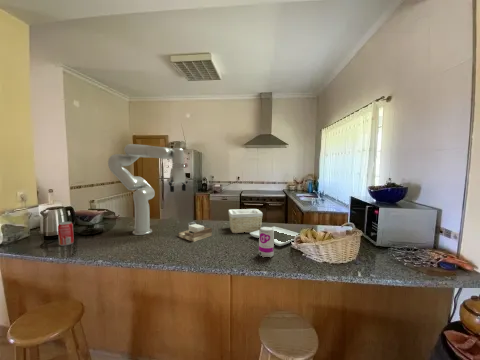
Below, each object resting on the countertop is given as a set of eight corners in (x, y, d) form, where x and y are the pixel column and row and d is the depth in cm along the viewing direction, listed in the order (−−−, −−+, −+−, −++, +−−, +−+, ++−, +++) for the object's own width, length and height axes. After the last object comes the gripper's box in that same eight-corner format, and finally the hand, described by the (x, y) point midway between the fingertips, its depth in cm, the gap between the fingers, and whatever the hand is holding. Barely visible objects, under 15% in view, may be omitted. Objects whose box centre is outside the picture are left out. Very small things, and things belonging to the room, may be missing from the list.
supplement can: (269, 259, 118) (270, 231, 117) (255, 255, 122) (256, 228, 121) (275, 254, 124) (276, 228, 123) (262, 251, 129) (263, 225, 128)
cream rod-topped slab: (187, 232, 153) (187, 223, 152) (194, 230, 157) (194, 221, 157) (197, 235, 147) (197, 225, 146) (204, 233, 151) (204, 223, 151)
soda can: (76, 243, 135) (75, 222, 134) (62, 247, 129) (62, 225, 128) (69, 241, 138) (68, 220, 137) (56, 245, 132) (55, 223, 131)
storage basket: (230, 234, 160) (231, 213, 159) (227, 227, 176) (227, 209, 174) (262, 232, 164) (263, 212, 163) (257, 226, 180) (257, 208, 179)
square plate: (280, 249, 132) (280, 243, 132) (248, 237, 153) (248, 232, 153) (305, 240, 150) (305, 234, 150) (274, 230, 171) (274, 225, 170)
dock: (178, 236, 152) (178, 228, 151) (196, 231, 164) (196, 223, 164) (193, 241, 142) (193, 233, 141) (211, 235, 154) (211, 227, 154)
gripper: (184, 166, 162) (184, 189, 163) (163, 166, 148) (163, 191, 150) (191, 166, 157) (191, 190, 159) (170, 166, 144) (170, 192, 145)
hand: (178, 191), depth 154 cm, fingers open, 9 cm apart
